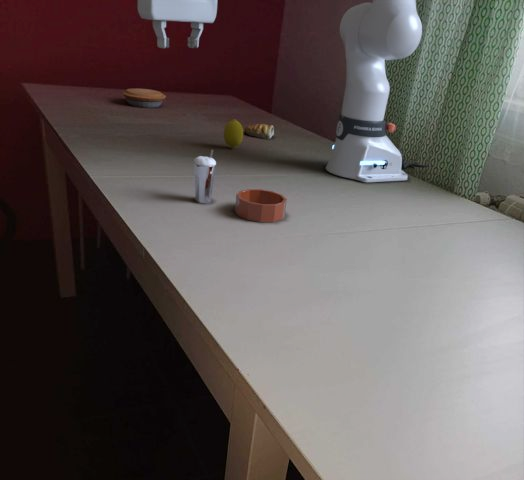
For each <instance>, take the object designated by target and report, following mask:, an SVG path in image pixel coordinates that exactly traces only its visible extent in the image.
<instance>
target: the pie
mask: <svg viewBox="0 0 524 480" xmlns="http://www.w3.org/2000/svg"><path fill="white" fill-rule="evenodd" d="M122 96H124V98H125V100H126V101H127V103H128V105H130V106H131V107H132V106H133V107H137V108H145V109H154V108H155V109H156V108H159V107H160V106H161V105H162V103H163V101H164V100H165V99H166V97H167V96H166V94H164V93H162V91H159V90H155V89H149V88H138V87H137V88H135V87H134V88H133V87H132V88H127V89H126V90H124V91H122Z"/></svg>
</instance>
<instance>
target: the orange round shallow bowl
mask: <svg viewBox="0 0 524 480" xmlns="http://www.w3.org/2000/svg"><path fill="white" fill-rule="evenodd" d="M287 202H288V201H287V197H285V196H284V195H283V194H281V193H278V192H276V191H273V190H268V189H262V188H259V189H258V188H248V189H243V190H240V191H238V192H237V193H236V195H235V206H234V207H235V208H234V212H235V213H236V215H237V216H238V217H239V218H243V219H245V220H247V221H252V222H256V223H275V222H278V221H282V220H283V219H284V218H285V215H286V208H287Z"/></svg>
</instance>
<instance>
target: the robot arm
mask: <svg viewBox="0 0 524 480" xmlns="http://www.w3.org/2000/svg"><path fill="white" fill-rule="evenodd" d="M137 13H138V15H139V16H140V18H141V19H142V20H143V19H144V20H149V21H150V20H151V21H152V28H153V31H154V33H155V36H156V39H157V40H156V43H157V45H156V46H157V47H158V48H160V49H169V48H170V37H167V34H166V30H165V28H167V22H181V23H182V22H183V23H184V22H185V23H190V28H192V29H191V33H190V36H189V37H188V36H187V47H188V48H191V49H198V48H199V46H200V45H199V43H200V38H201V35H202V33H203V31H204V24H213V23H214V22H215V20H216V18H217V15H218V14H217V13H218V0H137ZM339 35H340V39H341V42H342V44H343V49H344V57H345V87H344V92H343V93H344V94H343V100H342V107H341V112H340V114H339V115H338V120H337V125H336V132H335V141H334V144H333V145H332V148H331V149H332V151H331V154H330V156H329V160H328V162H327V164H326V166H325V170H326V171H327V172H328V173H330V174H333V175H335V176H339V177H341V178H346V179H351V180H354V181H355V180H356V181H358V182H362V183H384V182H385V183H386V182H401V181H408V177H409V176H408V174H407V173H406V172H405V171H404V170H402V169H406V168H407V167H414V168H427V167H429V166H426V165H418V164H419V163H417V162H412V161H411V162H405V158H404V156H403V155H402V150H399V149H398V148H397V147H396V146H395V144H394V143H393V142H392V141H391V139H390V138H389V137H388V136H387V134H388V133H387V132H389V133H395V132H394V131H396V124H394V123H392V122H387V121H386V120H385V113H386V110H387V106H388V100H389V96H390V91H391V90H390V89H391V87H390V83H389V80H388V78H387V73H386V61H394V60H395V61H396V60H397V61H398V60H401V59H405V58H408V57H409V56H411V55H412V54H413V53H414V52H415V51H416V50H417V48H418V47H419V46H420V45H419V44H420V42H421V40H422V35H423V25H422V21H421V19H420V16H419V14H418V11H417V1H416V0H372V2H363V3H360V4H356V5H354V6H352V7H350V8H349V9H348V10H346V12H344V14H343V16H342V18H341V20H340V24H339Z"/></svg>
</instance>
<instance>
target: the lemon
mask: <svg viewBox="0 0 524 480" xmlns="http://www.w3.org/2000/svg"><path fill="white" fill-rule="evenodd" d="M223 139H224V141H225V144H226V145H227V146H229V147H230V148H231V149H232V150H234V149H235V148H236V147H238V146H239V145H240V144H241V143H242V142H243V140H244V128H243V126H242V124H241V123H240V122H239V121H238V120H237V119H235V118H234V119H232V120H230V121H228V122H227V123H226V124H225V126H224V130H223Z"/></svg>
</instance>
